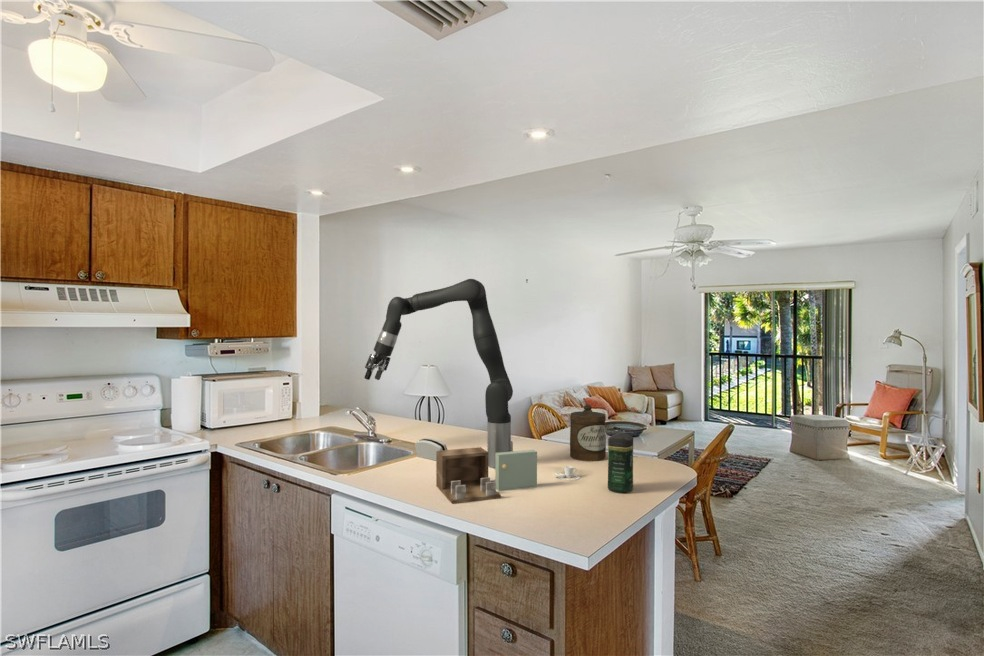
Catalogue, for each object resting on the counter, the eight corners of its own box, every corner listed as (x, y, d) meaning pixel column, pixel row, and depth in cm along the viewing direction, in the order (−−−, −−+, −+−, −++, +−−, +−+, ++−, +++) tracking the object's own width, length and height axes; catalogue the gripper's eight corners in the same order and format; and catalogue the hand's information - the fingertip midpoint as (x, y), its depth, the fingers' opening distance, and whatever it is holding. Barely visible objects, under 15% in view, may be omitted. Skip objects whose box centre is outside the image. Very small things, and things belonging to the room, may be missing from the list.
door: (533, 484, 180) (533, 449, 181) (538, 487, 177) (538, 452, 177) (495, 488, 176) (495, 452, 176) (499, 492, 172) (499, 455, 172)
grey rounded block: (453, 460, 213) (448, 439, 210) (446, 467, 209) (440, 445, 207) (425, 454, 223) (419, 433, 221) (417, 460, 220) (411, 439, 217)
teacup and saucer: (553, 479, 187) (553, 468, 187) (558, 474, 195) (558, 463, 195) (577, 482, 184) (577, 470, 184) (581, 476, 192) (581, 465, 192)
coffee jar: (629, 495, 169) (629, 437, 169) (605, 491, 172) (605, 435, 172) (635, 487, 177) (635, 432, 177) (612, 484, 181) (612, 430, 181)
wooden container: (582, 462, 210) (582, 408, 210) (563, 454, 223) (563, 403, 223) (613, 459, 216) (613, 406, 216) (592, 451, 229) (592, 401, 229)
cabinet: (480, 481, 184) (480, 447, 184) (500, 497, 166) (500, 460, 166) (436, 486, 178) (436, 450, 178) (452, 503, 160) (452, 464, 160)
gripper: (385, 345, 209) (370, 382, 209) (401, 347, 222) (387, 382, 223) (369, 338, 211) (355, 375, 211) (386, 341, 225) (372, 376, 225)
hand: (371, 379), depth 217 cm, fingers open, 8 cm apart
